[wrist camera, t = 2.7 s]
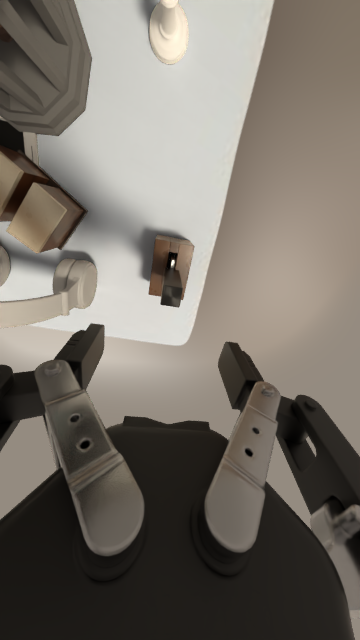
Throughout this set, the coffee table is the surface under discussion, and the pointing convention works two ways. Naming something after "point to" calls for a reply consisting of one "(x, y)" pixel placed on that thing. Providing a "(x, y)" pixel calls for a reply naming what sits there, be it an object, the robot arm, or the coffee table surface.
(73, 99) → the lantern
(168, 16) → the chess piece
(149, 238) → the coffee table surface
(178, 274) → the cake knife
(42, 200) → the tan and brown block
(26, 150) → the smartphone
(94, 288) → the headphones
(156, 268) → the knife block
